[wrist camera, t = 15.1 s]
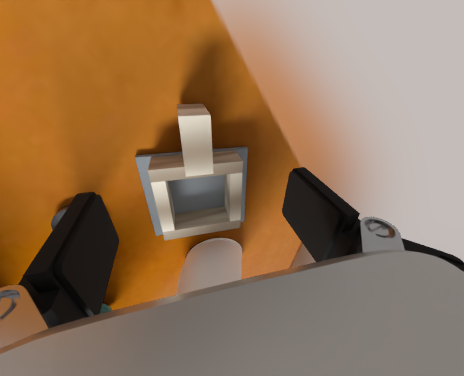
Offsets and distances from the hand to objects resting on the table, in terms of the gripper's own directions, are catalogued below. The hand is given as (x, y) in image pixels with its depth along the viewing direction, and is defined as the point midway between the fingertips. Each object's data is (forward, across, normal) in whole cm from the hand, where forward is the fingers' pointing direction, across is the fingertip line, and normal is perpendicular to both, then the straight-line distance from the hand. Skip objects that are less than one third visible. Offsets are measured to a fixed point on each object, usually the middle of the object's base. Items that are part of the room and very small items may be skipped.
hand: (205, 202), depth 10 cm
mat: (+13, 0, +8) cm, 15 cm away
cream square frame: (+12, 0, +5) cm, 13 cm away
